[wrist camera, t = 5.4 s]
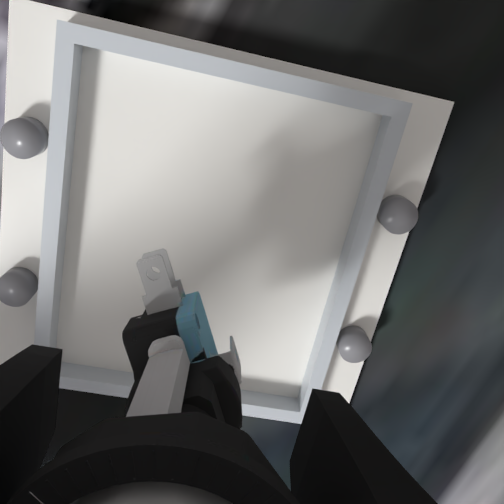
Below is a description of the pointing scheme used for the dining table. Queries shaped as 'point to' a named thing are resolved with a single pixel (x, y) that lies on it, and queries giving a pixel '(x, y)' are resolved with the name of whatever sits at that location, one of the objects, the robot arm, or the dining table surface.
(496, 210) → the dining table surface
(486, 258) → the dining table surface
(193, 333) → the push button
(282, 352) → the tray
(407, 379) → the dining table surface
